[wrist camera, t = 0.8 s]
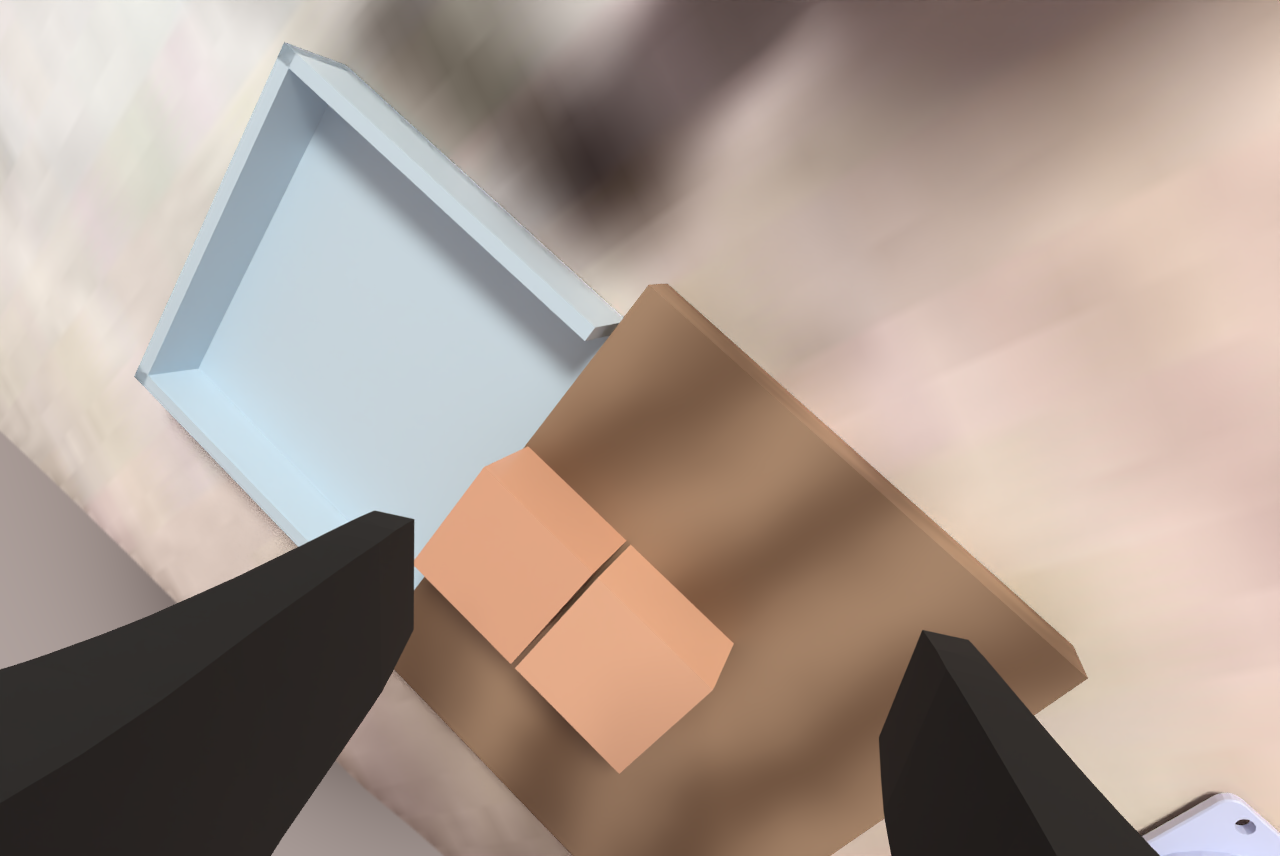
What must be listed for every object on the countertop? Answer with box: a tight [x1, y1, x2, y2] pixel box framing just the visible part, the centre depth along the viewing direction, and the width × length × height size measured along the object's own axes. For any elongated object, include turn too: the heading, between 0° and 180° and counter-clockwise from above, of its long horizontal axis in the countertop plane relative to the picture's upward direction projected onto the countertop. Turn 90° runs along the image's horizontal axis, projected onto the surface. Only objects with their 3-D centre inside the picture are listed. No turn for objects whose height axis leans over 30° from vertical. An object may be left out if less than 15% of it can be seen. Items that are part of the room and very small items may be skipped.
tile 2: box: [515, 545, 734, 774], centre depth 25 cm, size 5×5×3 cm
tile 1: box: [414, 447, 626, 664], centre depth 25 cm, size 5×5×3 cm
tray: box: [134, 42, 624, 590], centre depth 29 cm, size 15×16×3 cm
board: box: [394, 284, 1088, 856], centre depth 27 cm, size 18×20×2 cm
